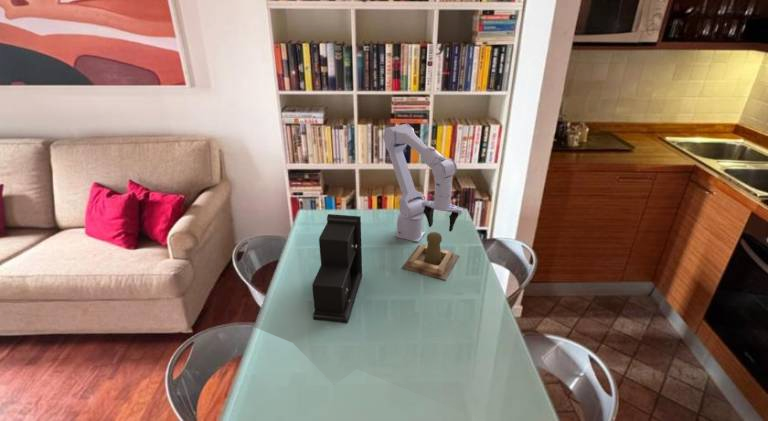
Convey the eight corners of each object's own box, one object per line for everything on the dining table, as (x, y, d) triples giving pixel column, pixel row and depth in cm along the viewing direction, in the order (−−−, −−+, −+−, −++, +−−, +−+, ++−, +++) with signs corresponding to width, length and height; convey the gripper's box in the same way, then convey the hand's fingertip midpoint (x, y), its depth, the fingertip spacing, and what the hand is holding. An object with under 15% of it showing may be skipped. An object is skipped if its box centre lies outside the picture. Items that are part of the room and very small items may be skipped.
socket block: (401, 268, 143) (401, 262, 142) (418, 245, 156) (418, 240, 155) (445, 280, 137) (445, 274, 136) (459, 256, 150) (459, 250, 148)
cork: (439, 266, 143) (442, 239, 138) (422, 263, 145) (424, 237, 140) (442, 257, 148) (444, 231, 143) (426, 254, 150) (427, 228, 145)
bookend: (348, 324, 119) (344, 257, 108) (312, 320, 120) (305, 253, 109) (363, 275, 139) (361, 215, 128) (332, 273, 141) (327, 213, 130)
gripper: (466, 193, 141) (463, 227, 148) (427, 185, 147) (425, 219, 153) (460, 201, 136) (457, 236, 142) (420, 193, 142) (418, 227, 148)
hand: (440, 227), depth 147 cm, fingers open, 7 cm apart
